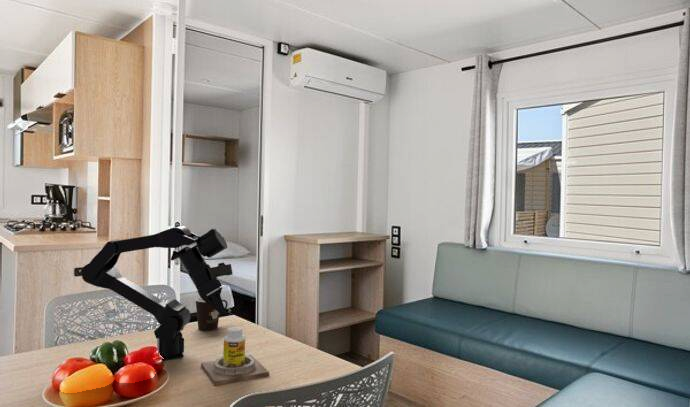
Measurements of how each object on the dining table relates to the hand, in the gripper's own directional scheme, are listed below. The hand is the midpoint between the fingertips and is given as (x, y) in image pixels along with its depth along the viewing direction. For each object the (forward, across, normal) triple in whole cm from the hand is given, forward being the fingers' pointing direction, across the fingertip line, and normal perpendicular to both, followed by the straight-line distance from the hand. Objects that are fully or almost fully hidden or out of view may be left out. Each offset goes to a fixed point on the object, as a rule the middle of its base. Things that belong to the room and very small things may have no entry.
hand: (223, 313), depth 133 cm
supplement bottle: (+13, -8, +5) cm, 16 cm away
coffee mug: (+5, +32, +5) cm, 33 cm away
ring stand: (+14, -8, +5) cm, 17 cm away
